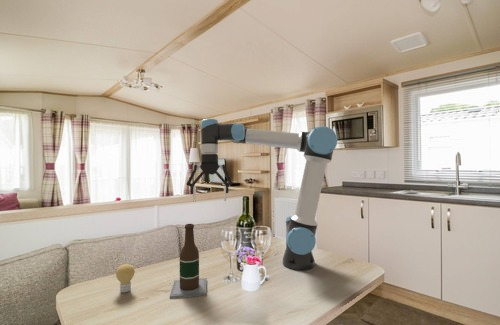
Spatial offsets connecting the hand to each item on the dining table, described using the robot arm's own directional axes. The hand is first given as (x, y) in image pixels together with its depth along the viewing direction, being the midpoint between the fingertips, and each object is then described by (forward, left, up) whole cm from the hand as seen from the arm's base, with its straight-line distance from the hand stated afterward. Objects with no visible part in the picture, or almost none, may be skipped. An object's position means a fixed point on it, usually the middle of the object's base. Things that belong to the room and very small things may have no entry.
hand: (209, 201), depth 118 cm
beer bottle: (+8, +15, -31) cm, 35 cm away
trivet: (+8, +15, -32) cm, 36 cm away
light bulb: (+32, +13, -32) cm, 47 cm away
